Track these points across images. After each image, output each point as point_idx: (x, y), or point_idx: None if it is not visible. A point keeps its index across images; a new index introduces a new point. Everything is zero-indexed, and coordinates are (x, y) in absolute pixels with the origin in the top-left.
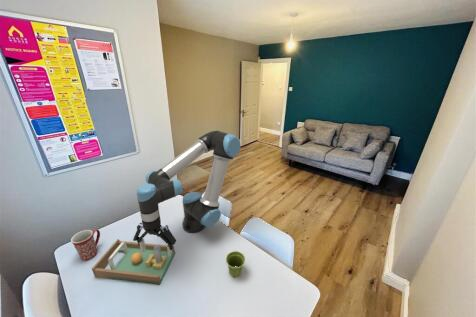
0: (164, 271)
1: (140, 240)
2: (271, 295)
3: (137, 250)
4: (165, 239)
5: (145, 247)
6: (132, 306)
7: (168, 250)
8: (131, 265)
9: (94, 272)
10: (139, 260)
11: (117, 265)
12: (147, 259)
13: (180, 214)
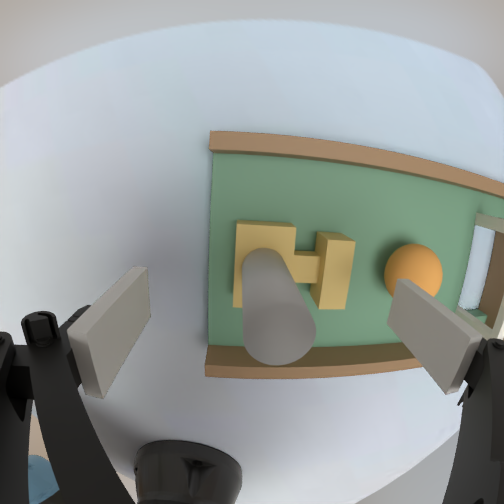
0: (210, 211)
1: (491, 360)
2: None
3: None
4: (39, 422)
5: (394, 329)
6: (307, 40)
7: (108, 295)
8: (418, 239)
9: None
10: (393, 260)
11: (470, 236)
12: (347, 265)
13: (273, 496)
